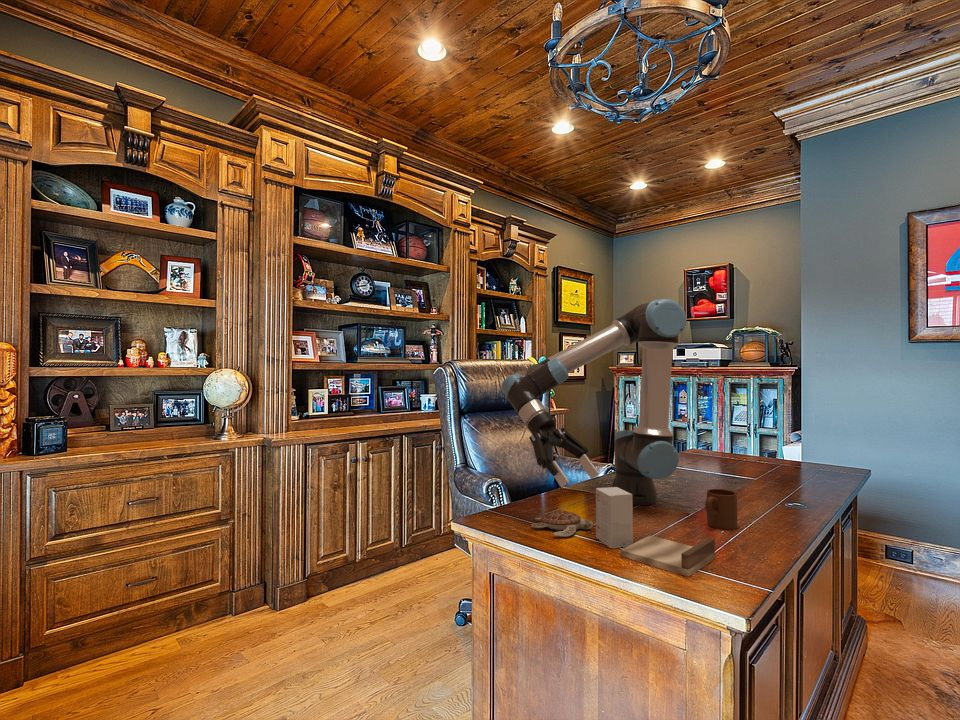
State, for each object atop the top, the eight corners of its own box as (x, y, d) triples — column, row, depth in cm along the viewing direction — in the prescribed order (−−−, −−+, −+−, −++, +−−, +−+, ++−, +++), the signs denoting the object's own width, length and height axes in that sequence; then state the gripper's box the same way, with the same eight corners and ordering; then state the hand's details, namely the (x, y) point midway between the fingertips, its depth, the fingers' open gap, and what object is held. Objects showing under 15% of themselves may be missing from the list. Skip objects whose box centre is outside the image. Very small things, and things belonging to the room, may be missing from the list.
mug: (721, 536, 130) (721, 500, 130) (693, 528, 136) (693, 494, 136) (742, 526, 137) (741, 492, 137) (715, 520, 143) (714, 487, 143)
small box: (633, 547, 123) (633, 494, 123) (610, 549, 121) (609, 495, 121) (617, 536, 131) (617, 486, 131) (595, 538, 129) (594, 487, 129)
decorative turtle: (591, 543, 126) (591, 524, 127) (526, 537, 131) (526, 518, 131) (595, 521, 144) (595, 504, 144) (538, 517, 149) (538, 500, 149)
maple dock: (620, 556, 117) (620, 537, 117) (649, 541, 126) (649, 523, 126) (688, 576, 105) (688, 555, 105) (714, 558, 115) (714, 539, 115)
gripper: (556, 423, 154) (598, 480, 143) (500, 431, 137) (543, 496, 126) (570, 407, 150) (615, 464, 139) (514, 413, 133) (559, 479, 122)
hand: (581, 480), depth 133 cm, fingers open, 13 cm apart
